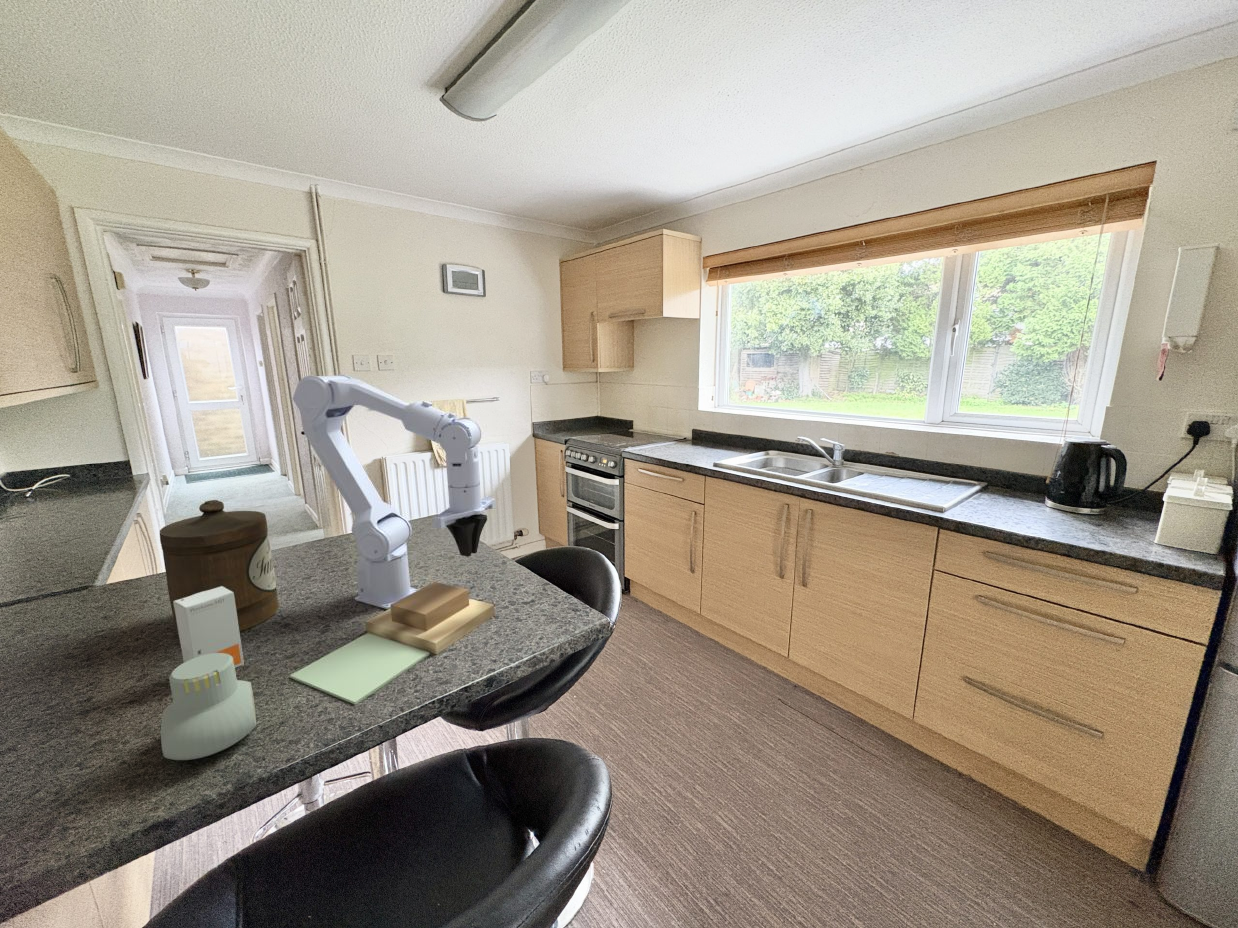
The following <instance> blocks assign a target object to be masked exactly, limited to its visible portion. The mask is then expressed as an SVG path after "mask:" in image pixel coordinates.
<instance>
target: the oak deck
mask: <svg viewBox="0 0 1238 928" xmlns="http://www.w3.org/2000/svg"><path fill="white" fill-rule="evenodd" d="M495 614H496V613H495V605H494V604H491V603H488V602H484V601H480V600H476V599H473V598H469V606H467V607H466V608H464V609H462V610H461V611H459V612H457V613H456V614H454V615H453V616H451V617H449V618H448V619H446V620H444V621H443V622H441V623H440V624H438V625H436V626H435V627H433V628H431V629H430V630H428V631H424V630H420V629H417V628H414V627H410V626H407V625H404V624H400V623H397V622H393V621H392V617H391V608H390V609H386V610H385V611H383V612H381V613H378V614H377V615H375V616H373V617H372V618H370V619H368V620H366V621H365V629H366V633H370V634H373V635H376V636H380V637H383V638H386V639H389V640H392V641H395V642H398V643H401V644H404V645H408V646H411V647H414V648H417V649H420V650H423V651H426V652H429V654H434V655H436V656H437V655H439V654H440V653H441V652H443V651H445V650H446V649H447V648H449V647H450V646H451V645H453V644H455V643H456V642H458V641H459V640H460V639H462V638H463V637H465V636H466V635H467V634H469V633H471V632H473V630H475V629H477V628H478V627H479V626H481V625H482V624H483V623H486V621H488V620H490V619H491V618H493V617H494V616H495Z"/></svg>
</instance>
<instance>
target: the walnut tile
mask: <svg viewBox="0 0 1238 928" xmlns="http://www.w3.org/2000/svg"><path fill="white" fill-rule="evenodd" d="M469 597H470V596H469V589H467V588H462V587H458V586H453V585H450V584H445V583H442V582H437V581H434V582H431V583H430V584H428V585H426V586H423V587H422V588H420V589H418V591H416V592H414V593H412V594H410V595H408V596H406V597H404V598H403V599H401V600H399V601H397V602H395V603H393V604H391V605H390V607H391V617H392V621H393V622H397V623H400V624H404V625H407V626H410V627H414V628H417V629H420V630H424V631H428V630H430V629H431V628H433V627H435V626H436V625H438V624H440V623H441V622H443V621H444V620H446V619H448V618H449V617H451V616H453V615H454V614H456V613H457V612H459V611H461V610H462V609H464V608H466V607H467V606H469V599H470V598H469Z"/></svg>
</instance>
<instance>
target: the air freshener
mask: <svg viewBox="0 0 1238 928" xmlns="http://www.w3.org/2000/svg"><path fill="white" fill-rule="evenodd" d="M236 673H237V672H236V668H235V667H234V662H233V657H232V656H230V655H228V654H225V653H212V654H206V655H202V656H199V657H196V658H193V659H191V660H189V661H186V662H185V663H184V662H183V663H181V664H180V665H178V666H177V667H175V669H173V670H172V671H171V673H170V674H169V676H168V679H169V686H170V690H171V696H172V701H173V702H171V704H169V705H168V706H166V708H164V710H163V712H162V715H161V725H160V727H161V728H160V742H161V750H162V754H163V757H164V758H166V759H168V760H173V761H174V760H175V761H189V760H196V759H201V758H205V757H208V756H211V755H215V754H217V753H219V752H222V751H224V750H226V749H228V748H230V747H232V746H233V745H235V744H236V743H238V742H239V741H241V740H242V739H243V738H245V737H246V736H247V735H248V734H250V733H251V731H253V730H254V728H256V726H257V717H256V716H257V714H256V707H255V700H254V692H253V687H252V683H251V682H250V681H246V680H239V679H238V678H237V674H236Z"/></svg>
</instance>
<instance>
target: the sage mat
mask: <svg viewBox="0 0 1238 928" xmlns="http://www.w3.org/2000/svg"><path fill="white" fill-rule="evenodd" d="M430 654H431V653H430V652H427V651H424V650H421V649H417V648H414V647H411V646H408V645H405V644H402V643H399V642H396V641H392V640H389V639H386V638H383V637H380V636H377V635H374V634H371V633H368V632H366V633H364V634H363V635H361V636H359V637H357V638H356V639H354V640H352V641H350V642H348V643H346V644H345V645H343V646H341V647H339V648H337V649H336V650H333V651H332V652H330V653H328V654H326V655H324V656H323V657H321V658H319V659H317V660H315V661H313V662H311V663H309V664H308V665H306V666H304V667H303V668H301V669H299V670H297V671H295V672H293V673H291V674H290V675H289V678H290V679H291V680H292V679H293V680H294V681H296V682H299V683H302V684H304V685H306V686H309V687H312V688H314V689H316V690H319V691H321V692H322V693H323V692H324V693H326V694H329V695H331V696H333V697H336V698H338V699H340V700H343V701H345V702H348V703H351V704H352V705H355V706H356V705H357V704H359V703H360V702H362V701H364V700H365V699H366V698H368V697H370V696H371V695H373V694H374V693H375V692H377V691H378V690H379V689H381V688H383V687H384V686H385V685H387V684H389V683H391V682H392V681H393V680H394V679H396V678H398V677H399V676H400V675H402V674H404V673H405V672H406V671H409V669H411V668H412V667H414V666H415V665H418V663H420V662H421V661H422V660H424V659H426V658H427V657H429V656H430Z"/></svg>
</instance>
